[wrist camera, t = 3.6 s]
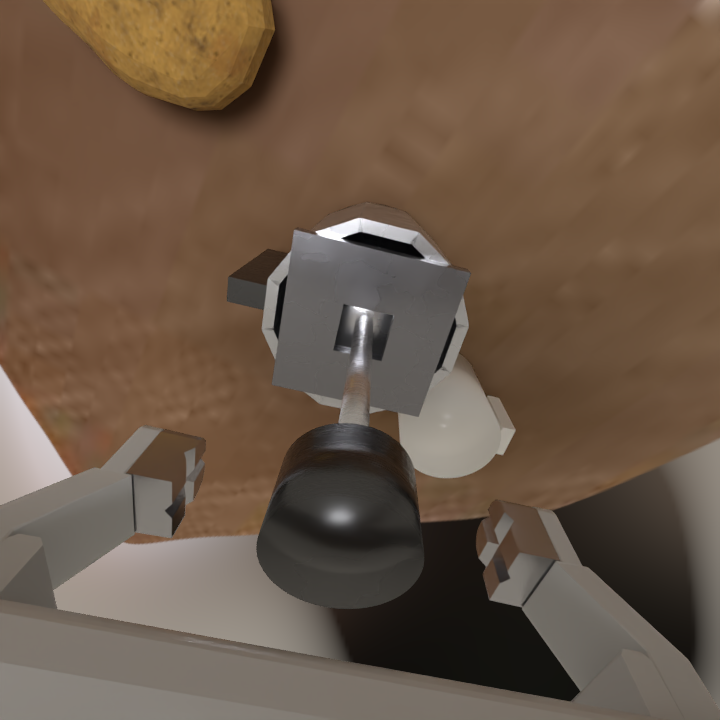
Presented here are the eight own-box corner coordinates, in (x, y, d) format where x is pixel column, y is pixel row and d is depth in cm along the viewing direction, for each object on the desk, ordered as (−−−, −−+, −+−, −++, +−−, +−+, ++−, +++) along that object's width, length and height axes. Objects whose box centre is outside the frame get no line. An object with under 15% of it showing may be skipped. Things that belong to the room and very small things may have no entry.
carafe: (456, 223, 28) (502, 255, 17) (414, 350, 33) (431, 436, 22) (282, 179, 27) (221, 185, 17) (265, 315, 32) (209, 388, 21)
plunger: (451, 268, 20) (592, 461, 7) (410, 389, 23) (451, 677, 10) (309, 233, 20) (160, 367, 6) (288, 362, 23) (163, 624, 10)
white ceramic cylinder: (501, 361, 33) (535, 415, 26) (472, 426, 36) (496, 489, 29) (408, 339, 32) (416, 388, 25) (387, 407, 35) (389, 467, 28)
